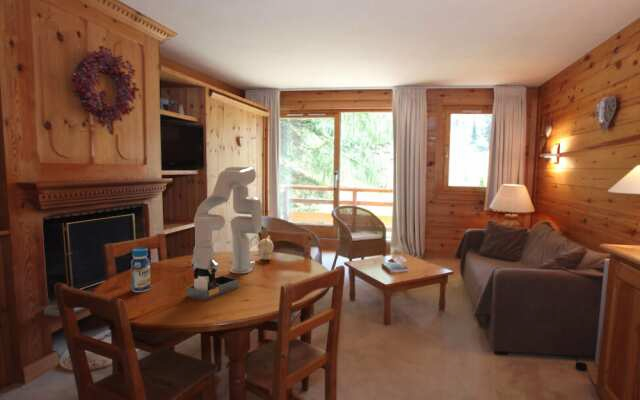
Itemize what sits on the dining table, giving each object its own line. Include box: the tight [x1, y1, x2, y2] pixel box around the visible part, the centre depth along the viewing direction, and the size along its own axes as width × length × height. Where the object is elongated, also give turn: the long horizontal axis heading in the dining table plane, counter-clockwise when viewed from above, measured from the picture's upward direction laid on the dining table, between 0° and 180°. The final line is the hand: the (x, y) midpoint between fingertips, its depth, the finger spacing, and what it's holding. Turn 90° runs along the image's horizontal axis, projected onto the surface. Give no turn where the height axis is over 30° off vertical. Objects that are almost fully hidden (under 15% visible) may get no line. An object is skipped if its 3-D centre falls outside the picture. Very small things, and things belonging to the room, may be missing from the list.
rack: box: [186, 275, 239, 302], centre depth 175 cm, size 22×12×4 cm, turn 149°
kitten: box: [257, 235, 275, 261], centre depth 236 cm, size 15×10×15 cm
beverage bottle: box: [130, 247, 152, 293], centre depth 176 cm, size 8×8×20 cm
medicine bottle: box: [193, 268, 217, 291], centre depth 171 cm, size 7×7×12 cm
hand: (204, 279), depth 171 cm, fingers open, 9 cm apart
